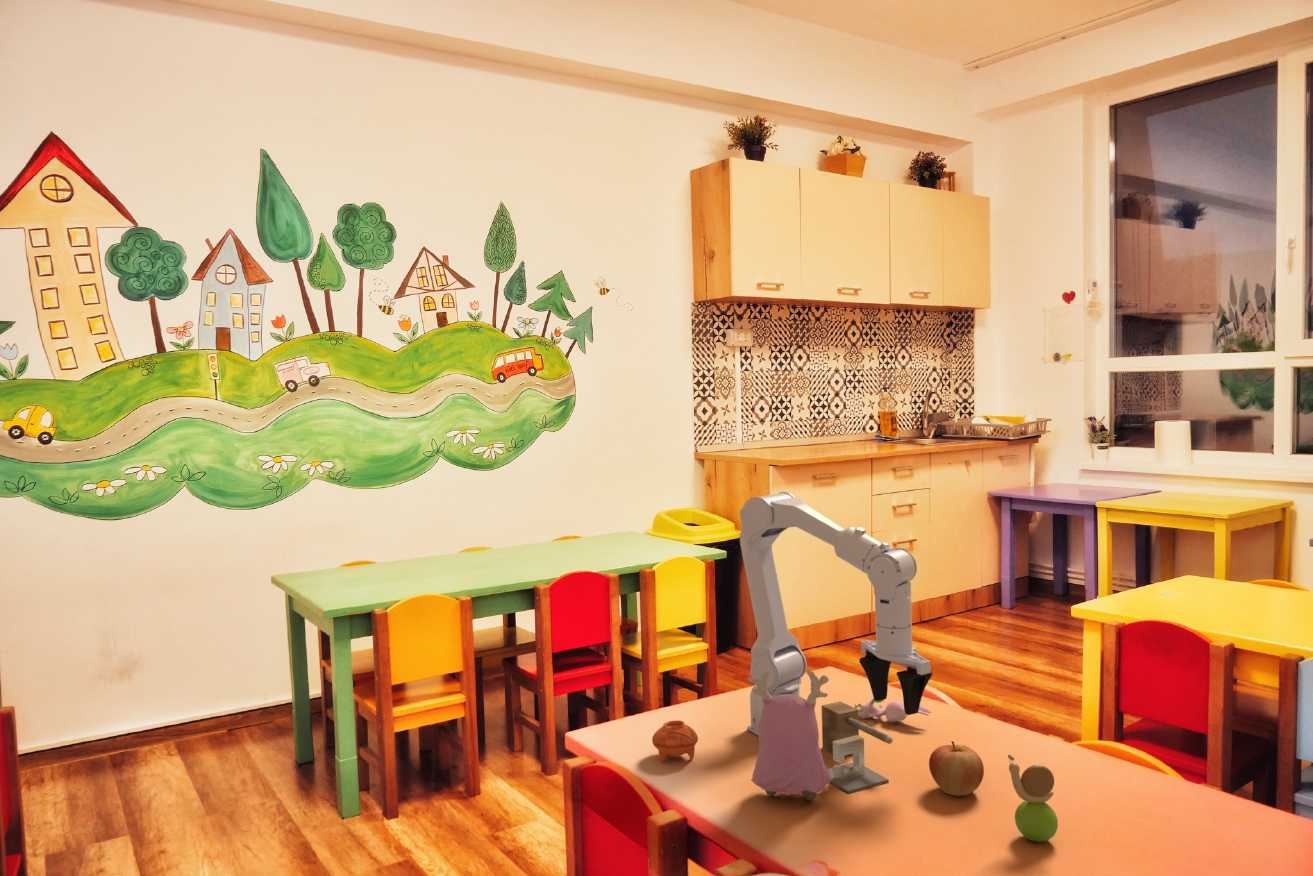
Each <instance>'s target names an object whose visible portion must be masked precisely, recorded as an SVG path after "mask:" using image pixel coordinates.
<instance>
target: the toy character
mask: <svg viewBox="0 0 1313 876" xmlns="http://www.w3.org/2000/svg"><path fill="white" fill-rule="evenodd" d="M769 674H770V670H767V671H766V672H764V673H762V675H761V678H760V680H758V679H757V678H752V676H751V677H750V676H748V677H747V681H748V682H749V683H751V684H754V685H755V684H756V685H757V689H752V688H751V691H753V692H754V693H755V694H758V695H759V696H761V697H762V698H763V699H762V701H763V705H764V706H763V710H762V713H761V715H760V719H759V724H758V735H757V737H758V743H759V749H758V755H757V758H756V761H755V764H754V765H755V766H754V769H753V773H752V778H751V780H750V781H751V782H753V784H754V785H756V786H757V787H758V788H760V789H761V790H763V791H765V793H766V795H767V796H768V797H773V796H775V795H776V794H778V793H782V794H783V793H784V794H789V795H792V796H799V795H800V794H801V795H802V796H803V797H804V798H805V799H806V800H808V802H813V801H814V800H815V799H816V798H817V793H819V792H821V791H822V790H825V789H826V786H827V785H828V784H830V781H831V778H830V774H829V771H828V770H827V769H828V768H827V767H826V764H825V761H824V758H823V754H822V751H821V749H820V748H821V747H820V745H819V739H820V738H819V737H820V736H819V735H820V732H819V726H818V721H817V717H816V710H815V709H816V708H815V707H816V704H817V699H818V698H826V697H828V695H829V694H828V693H825V692H822V691H821V686H823V685H824V684H827V683H828V682H829V680H830V679H829V678H828V676H827V675H825V674H823V675H821V676H820V677H819V678H818V676H816V674H815V672H814V671H812V670H810V669H808V670H807V671H806V674H807V676H808V677H809V679H810V693H809V694H808V695H807V698H806V699H805V698H804V697H802V696H801V695H800V696H796V695H789V694H785V695H778V696H776V697H773V696H771V695H770V694H769V692H768V691H767V688H766V679H767V677H768V676H769Z"/></svg>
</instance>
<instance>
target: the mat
mask: <svg viewBox="0 0 1313 876" xmlns="http://www.w3.org/2000/svg"><path fill="white" fill-rule="evenodd" d="M841 766H842V767H844V768H845V769H846V768H850V767H853V762H850V763H846V764H843V765H841ZM827 770H828V771H829V774H830V778H831V781H830V782H829V784H830V783H831V784H832V785H833V786H835V787H837V788H839V789H840V790H842V791H844V792H845V793H847V794H851V793H854V792H858V791H859V792H860V791H861V790H866V789H868V788H873V787H875V786H876V787H877V786H879V785H883V784H886V783H889V778H886V777H885V776H883V775H881V774H879V773H878V772H875V770H872V769H870V768H868V767H867V766H865V775H862V776H859V777H855V778H852V779H848V780H844V781H841V782H839V781H838V780H836V779H834V775H833V767H831V768H827Z"/></svg>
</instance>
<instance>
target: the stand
mask: <svg viewBox="0 0 1313 876" xmlns="http://www.w3.org/2000/svg"><path fill="white" fill-rule="evenodd" d="M858 709H859V708H858ZM858 709H856V708H855V707H853V706H851V705H849V704H847V703H844V702H842V701H835V702H831V703H826V704H822V705H821V734H822V737H821V739H822V749H825V750H826V749H827V750H826V751H828V752H830V753H831V754H833V741H836V740H840V739H844V738H848V737H852V736H856V735H858V736H860V733H859V731H862V732H864V733H865V734H867V735H870V736H871V737H874V738H876V739H878V740H880V741H882V742H883V743H886V744H887V745H889V744H892V743H893V737H892V736H890V735H889V734H887V733H884V732H883V731H879V730H878V729H877V728H874V727H872V726H870V725H868V724H865V723H863V722H861V721H859V716H858ZM848 756H853V754H849V755H845V756H844V757H848Z"/></svg>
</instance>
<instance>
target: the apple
mask: <svg viewBox="0 0 1313 876" xmlns="http://www.w3.org/2000/svg"><path fill="white" fill-rule="evenodd" d="M982 760H983V759H982V758H981V756H979V754H978V753H977V752H976V751H975V750H974V749H973V748H971V747H969V746H967V745H963V744H955V742H954V741H953V740H951V744H946V745H940V746H938V747H937V748H935V749H934V750H933V751H932V753H931V754H930V757H929V760H928V768H929V771H930V774H931V777H932V779H933V780H934V782H935V783H936V786H938V787H939V788H940V789H941V791H942V792H944V793H945V794H948V795H950V796H956V797H960V796H967V795H970V794H972V793H973V792H975V791H976V790H978V788H979V787H980V785H981V783H982V782H983V778H984V775H985V769H984V768H985V767H984V764H983V763H984V762H983V761H982Z"/></svg>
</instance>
